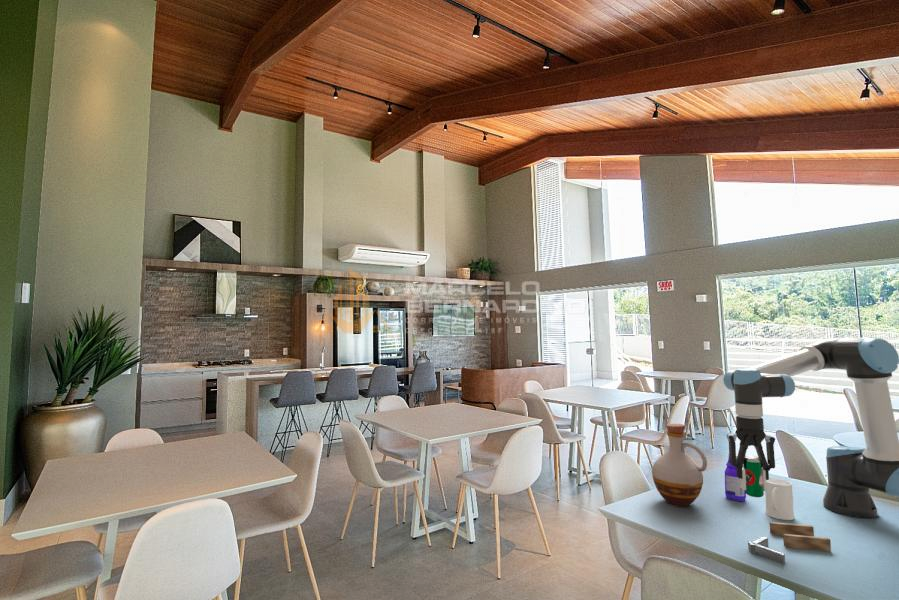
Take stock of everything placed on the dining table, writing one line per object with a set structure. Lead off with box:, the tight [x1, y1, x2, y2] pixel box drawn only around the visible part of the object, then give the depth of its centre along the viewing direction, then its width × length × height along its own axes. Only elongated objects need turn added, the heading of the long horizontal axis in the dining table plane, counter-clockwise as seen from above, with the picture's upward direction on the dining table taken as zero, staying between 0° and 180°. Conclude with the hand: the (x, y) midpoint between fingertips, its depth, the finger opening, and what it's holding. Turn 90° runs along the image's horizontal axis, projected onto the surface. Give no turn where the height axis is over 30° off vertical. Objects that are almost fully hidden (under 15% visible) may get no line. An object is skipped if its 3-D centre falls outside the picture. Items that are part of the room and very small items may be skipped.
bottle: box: [724, 453, 747, 502], centre depth 181 cm, size 7×6×17 cm
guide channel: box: [769, 521, 832, 552], centre depth 143 cm, size 12×10×4 cm
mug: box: [764, 477, 795, 521], centre depth 163 cm, size 12×8×12 cm
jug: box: [651, 423, 708, 508], centre depth 176 cm, size 20×18×30 cm
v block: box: [747, 536, 786, 565], centre depth 136 cm, size 7×12×2 cm, turn 167°
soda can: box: [743, 455, 765, 498], centre depth 147 cm, size 5×5×12 cm
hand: (753, 489), depth 147 cm, fingers closed on soda can, 5 cm apart
